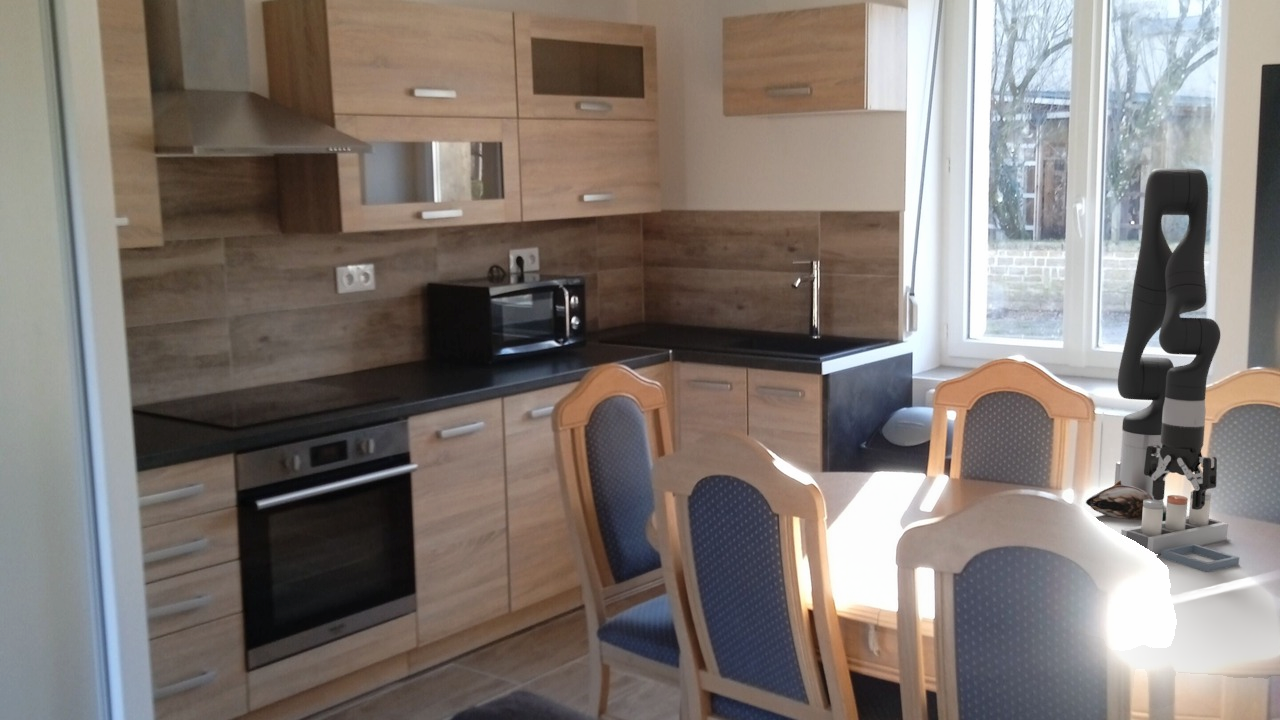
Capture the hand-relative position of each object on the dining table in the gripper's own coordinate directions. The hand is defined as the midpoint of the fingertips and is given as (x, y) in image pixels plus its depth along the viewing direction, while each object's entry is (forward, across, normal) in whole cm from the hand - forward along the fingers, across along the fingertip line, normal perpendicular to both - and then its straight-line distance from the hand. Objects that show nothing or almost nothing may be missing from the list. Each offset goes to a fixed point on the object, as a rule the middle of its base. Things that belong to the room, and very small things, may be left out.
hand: (1177, 504), depth 240 cm
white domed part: (+8, 0, -7) cm, 11 cm away
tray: (+9, -10, +6) cm, 14 cm away
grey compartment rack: (+9, 0, 0) cm, 9 cm away
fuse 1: (+8, 0, +7) cm, 10 cm away
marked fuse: (+8, 0, 0) cm, 8 cm away
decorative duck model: (+9, +16, -6) cm, 20 cm away
